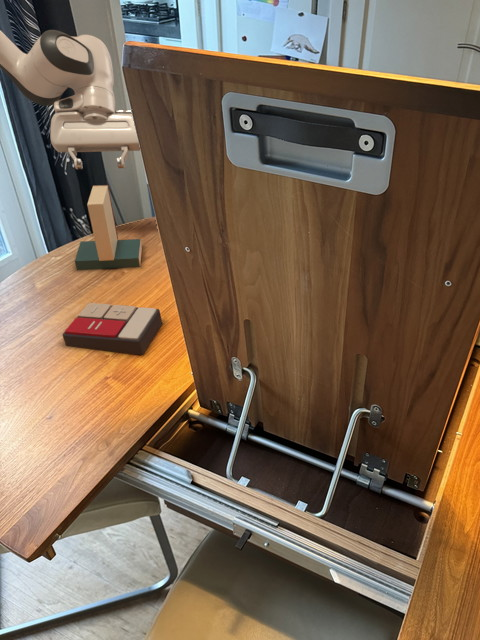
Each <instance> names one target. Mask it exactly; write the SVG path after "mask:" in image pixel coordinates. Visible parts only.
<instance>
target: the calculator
mask: <svg viewBox="0 0 480 640" xmlns="http://www.w3.org/2000/svg"><path fill="white" fill-rule="evenodd" d="M162 325H163V321H162V315H161V311H160V309H159V308H153V307H142V306H141V307H137V306H136V305H125V304H113V305H112V304H109V303H97V302H88V304H86V306H84V308H83V309H82V310H81V311H80V313H78V315H77V317H75V318H74V319H73V320H72V321H71V323H70V324H69V325H68V326H67V327H66V329H64V332H63V333H62V338H63V341H64V344H65V346H66V347H71V348H72V347H74V348H80V349H89V350H96V351H97V350H98V351H103V352H104V351H105V352H111V353H119V354H127V355H128V354H129V355H136V356H143V355H144V354H145V352H146V350H147V349H148V348H149V346H150V344H151V342H152V341H153V339H154V338H155V336H156V334H157V333H158V331H159V329H160V328H161V326H162Z"/></svg>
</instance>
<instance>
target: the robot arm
mask: <svg viewBox="0 0 480 640" xmlns="http://www.w3.org/2000/svg"><path fill="white" fill-rule="evenodd" d="M0 69H1V71H3V72H4V73H5V75H7V76H8V78H9V79H10V80H11V81H12V83H13V84H14V85H15V87H16V88H17V89H18V90H19V92H20V93H21V94H22V95H23V96H24V97H25V98H26V99H28V100H29V101H31V102H33V103H34V104H37V105H39V106H42V107H50V106H53V108H54V112H55V114H53V116H52V117H51V120H50V135H49V136H50V143H51V146H52V147H53V148H54V149H55V151H57V153H68V154H69V155H70V157H71V159H72V160H73V166H74V168H75V170H84V167H83V164H84V163H83V161H82V158H77V156H78V153H92V152H94V153H95V152H97V153H98V152H121V153H122V154H121V155H120V157H116V161H117V168H118V169H126V161H127V160H128V158H129V156H130V152H140V147H139V142H138V138H137V134H136V130H135V126H134V121H133V116H132V113H131V110H132V109H127V110H126V109H117V104H116V95H115V93H114V86H115V77H114V75H115V74H114V68H113V61H112V57H111V54H110V52H109V49H108V47H107V46H106V44H105V43H104V42H103V41H102V40H101V39H100V38H98V37H96V36H94V35H91V34H80V35H78V36H71V35H69V34H67V33H66V32H63V31H61V30H56V29H48V30H46V31H44V32H42V34H41V35H40V36H39V37H38V39H37V40H36V41H35V43H34V44H33V45H32V47H31V49H30V50H29V52H28V53H25V52H23V51H22V50H21V49H20V48H19V47H18V46H17V45H16V44H15V43H14V42H13V41H12V40H10V38H9V37H8V36H7V35H5V33H4V32H3V31H2V30H1V29H0ZM68 88H70V89H72V90H73V92H74V94H72V95H71V96H68V97H65V98H61V97H62V96H63V94H64V93H65V91H66V90H67V89H68Z"/></svg>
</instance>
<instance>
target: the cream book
mask: <svg viewBox="0 0 480 640" xmlns="http://www.w3.org/2000/svg"><path fill="white" fill-rule="evenodd" d="M86 205H87V210H88V216H89V220H90V224H91V229H92V233H93V237H94V241H95V243H96V248H97V252H98V257H99V261H105V260H114V257H115V251H116V245H117V240H119V237H118V236H119V235H118V231H117V230H118V229H117V225H116V219H115V214H114V209H113V208H114V207H113V203H112V197H111V192H110V187H109V184H100V185H99V184H98V185H96V184H95V185H92V188H91V191H90V194H89V197H88V201H87V204H86Z"/></svg>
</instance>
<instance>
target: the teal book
mask: <svg viewBox="0 0 480 640" xmlns="http://www.w3.org/2000/svg"><path fill="white" fill-rule="evenodd" d="M142 252H143V245H142V240H141V238H131V239H118V240H117V245H116V251H115V257H114V260H105V261H99V257H98V252H97V248H96V243H95V240H85V241H84V240H83V241H80V242H79V246H78V249H77V252H76V256H75V259H74V264H75V268H76V271H88V270H89V271H91V270H109V269H110V270H111V269H127V268H128V269H129V268H140V267H141V262H142Z"/></svg>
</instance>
